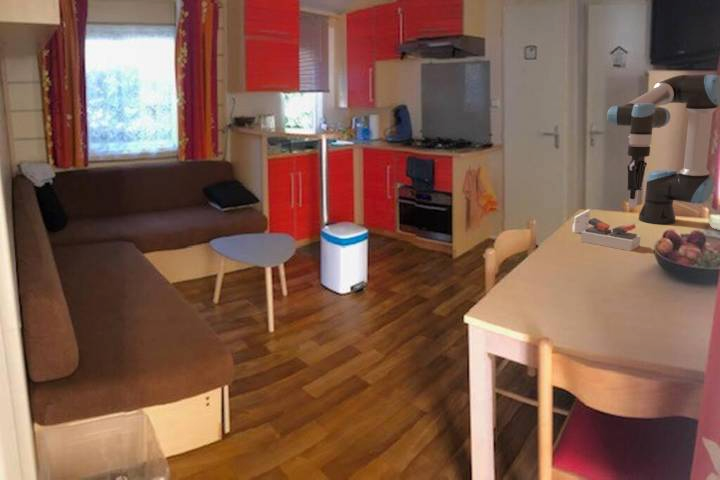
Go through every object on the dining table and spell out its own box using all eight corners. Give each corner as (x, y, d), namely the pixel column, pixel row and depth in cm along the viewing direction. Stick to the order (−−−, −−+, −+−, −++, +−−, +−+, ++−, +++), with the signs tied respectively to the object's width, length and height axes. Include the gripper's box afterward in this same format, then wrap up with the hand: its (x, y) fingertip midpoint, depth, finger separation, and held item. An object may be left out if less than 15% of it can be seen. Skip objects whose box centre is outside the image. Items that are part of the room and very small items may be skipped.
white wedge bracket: (599, 227, 258) (590, 210, 256) (577, 238, 260) (568, 221, 258) (596, 225, 261) (587, 208, 260) (575, 236, 263) (566, 219, 262)
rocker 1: (592, 222, 248) (594, 217, 247) (607, 230, 244) (610, 225, 243) (587, 224, 245) (589, 219, 244) (602, 232, 241) (605, 227, 240)
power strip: (590, 237, 252) (591, 225, 251) (639, 245, 239) (640, 233, 237) (580, 241, 246) (581, 229, 245) (630, 250, 233) (631, 238, 231)
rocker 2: (618, 232, 241) (617, 226, 241) (636, 229, 236) (634, 224, 236) (613, 234, 238) (612, 228, 238) (631, 232, 233) (630, 226, 233)
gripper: (636, 143, 234) (629, 202, 240) (622, 146, 225) (615, 208, 231) (656, 144, 229) (648, 205, 235) (643, 147, 220) (635, 211, 226)
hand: (632, 206), depth 233 cm, fingers closed
